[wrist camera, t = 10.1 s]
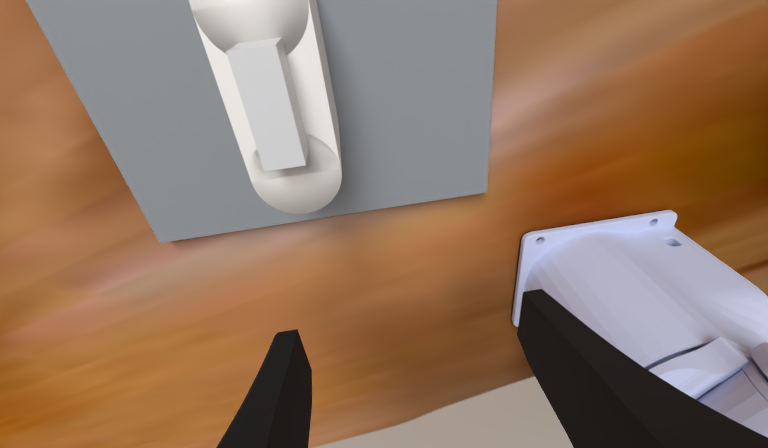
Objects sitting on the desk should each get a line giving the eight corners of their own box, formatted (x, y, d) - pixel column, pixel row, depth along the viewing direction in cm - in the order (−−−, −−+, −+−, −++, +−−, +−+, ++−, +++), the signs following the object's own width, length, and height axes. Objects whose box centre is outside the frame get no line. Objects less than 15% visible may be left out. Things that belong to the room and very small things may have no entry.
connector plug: (305, -61, 13) (287, -89, 8) (344, 152, 17) (350, 228, 12) (219, -50, 13) (141, -70, 8) (280, 162, 17) (258, 243, 12)
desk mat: (499, -228, 12) (510, -241, 11) (481, 185, 20) (487, 192, 20) (-49, -169, 11) (-73, -177, 11) (165, 234, 20) (159, 242, 19)
